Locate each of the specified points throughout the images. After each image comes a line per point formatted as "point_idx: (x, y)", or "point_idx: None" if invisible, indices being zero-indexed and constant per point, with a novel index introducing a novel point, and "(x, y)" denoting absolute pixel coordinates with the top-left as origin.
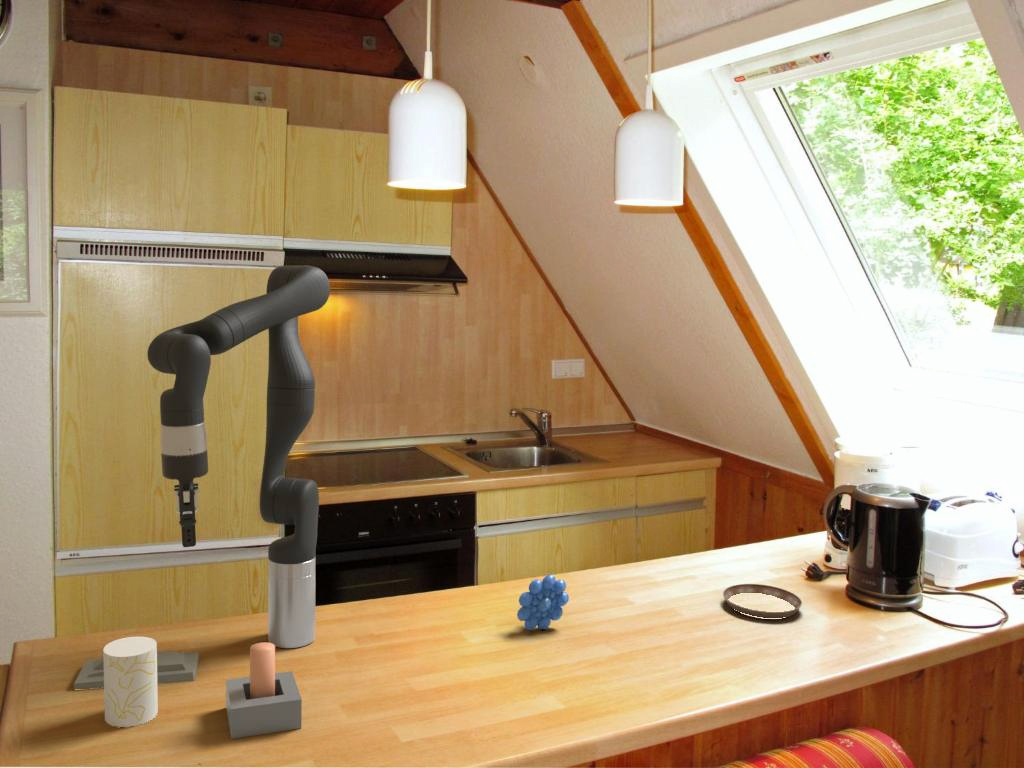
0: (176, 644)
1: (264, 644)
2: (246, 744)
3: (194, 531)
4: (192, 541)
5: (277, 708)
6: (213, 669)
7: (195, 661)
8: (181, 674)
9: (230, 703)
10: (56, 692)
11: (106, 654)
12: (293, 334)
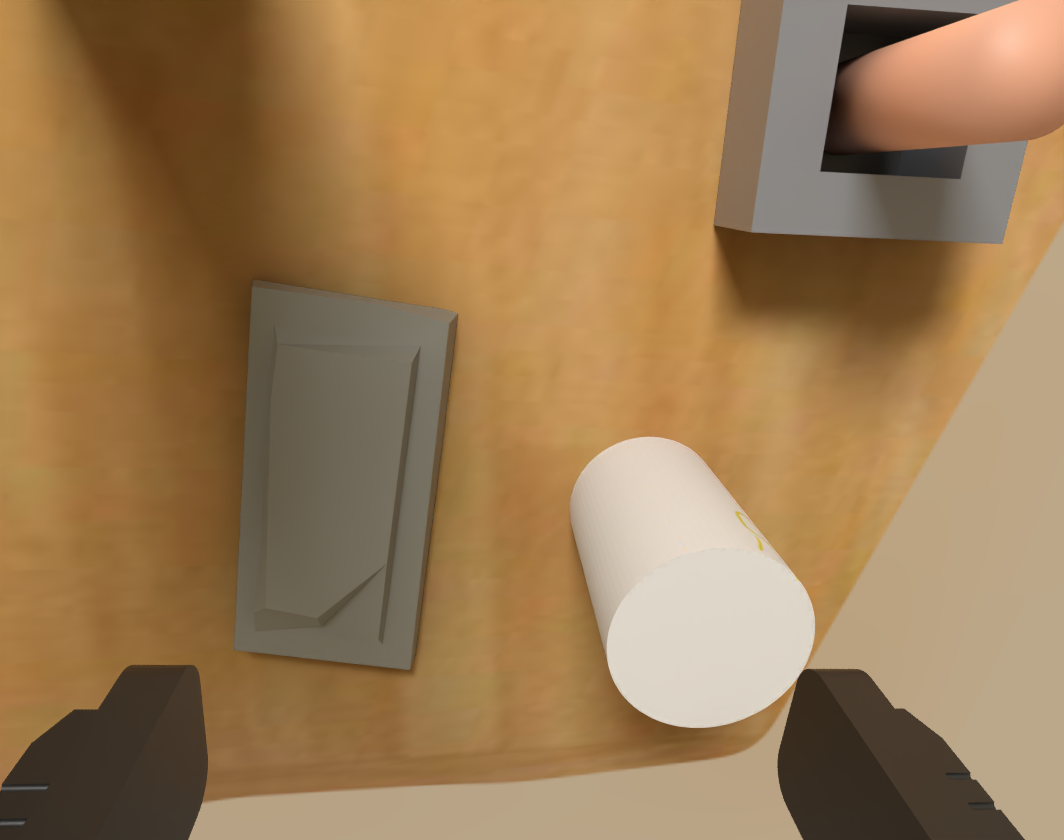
0: (87, 353)
1: (1005, 51)
2: None
3: (984, 835)
4: (940, 748)
5: None
6: (376, 234)
7: (348, 305)
8: (445, 361)
9: (959, 241)
10: (411, 696)
11: (749, 714)
12: None
